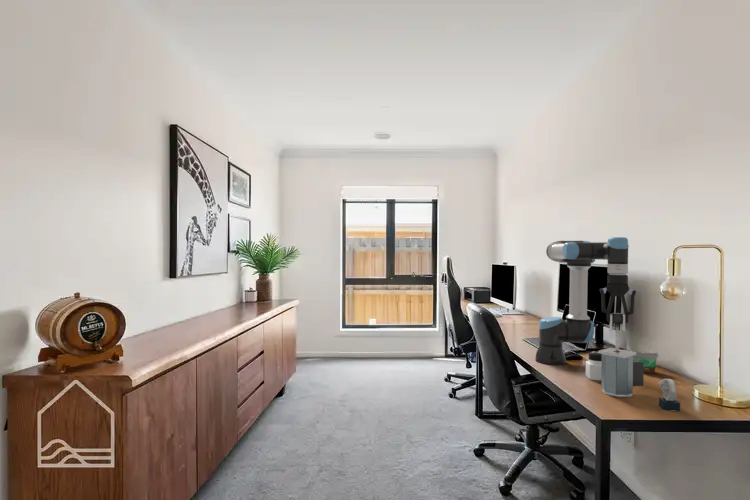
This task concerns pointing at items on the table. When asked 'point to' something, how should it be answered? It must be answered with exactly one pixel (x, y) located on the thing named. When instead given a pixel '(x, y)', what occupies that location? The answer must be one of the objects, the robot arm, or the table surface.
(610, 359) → the press
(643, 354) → the food container
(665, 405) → the watch
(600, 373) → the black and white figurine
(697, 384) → the table surface
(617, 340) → the plunger
